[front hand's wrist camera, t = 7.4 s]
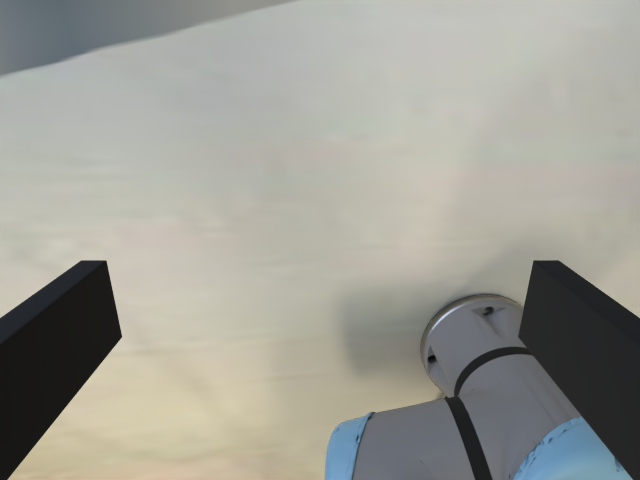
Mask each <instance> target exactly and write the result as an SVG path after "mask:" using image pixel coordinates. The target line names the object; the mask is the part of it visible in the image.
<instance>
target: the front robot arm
mask: <svg viewBox="0 0 640 480" xmlns="http://www.w3.org/2000/svg"><path fill="white" fill-rule="evenodd" d="M121 338H122V334H121V329H120V325H119V320H118V315H117V310H116V305H115V300H114V295H113V291H112V286H111V281H110V276H109V271H108V266H107V261H80V262H79V263H77V264H76V265H74V266H73V267H72V268H70V269H69V270H67V271H66V272H65V273H63V274H62V275H60V276H59V277H58V278H56V279H55V280H53V281H52V282H51V283H49V284H48V285H46V286H45V287H44V288H42V289H41V290H39V291H38V292H37V293H35V294H34V295H32V296H31V297H29V298H28V299H27V300H25V301H24V302H22V303H21V304H20V305H18V306H17V307H15V308H14V309H13V310H11V311H10V312H8V313H7V314H6V315H4V316H3V317H1V318H0V480H7V479H8V478H9V477H10V476H11V474H12V473H13V472H14V471H15V469H16V468H17V467H18V466H19V464H20V463H21V462H22V461H23V459H24V458H25V457H26V456H27V454H28V453H29V452H30V451H31V449H32V448H33V447H34V446H35V445H36V443H37V442H38V441H39V440H40V438H41V437H42V436H43V435H44V433H45V432H46V431H47V430H48V428H49V427H50V426H51V425H52V423H53V422H54V421H55V420H56V418H57V417H58V416H59V415H60V413H61V412H62V411H63V410H64V408H65V407H66V406H67V405H68V403H69V402H70V401H71V400H72V399H73V397H74V396H75V395H76V394H77V392H78V391H79V390H80V389H81V387H82V386H83V385H84V384H85V382H86V381H87V380H88V379H89V377H90V376H91V375H92V374H93V372H94V371H95V370H96V369H97V367H98V366H99V365H100V364H101V362H102V361H103V360H104V359H105V357H106V356H107V355H108V354H109V353H110V351H111V350H112V349H113V348H114V346H115V345H116V344H117V343H118V341H119V340H120V339H121ZM421 357H422V361H423V364H424V366H425V369H426V372H427V374H428V376H429V377H430V379H431V380H432V382H433V383H434V384H435V385H436V386H437V387H438V388H439V389H440V390H441V391H442V392H443V393H444V394H445V395H446V397H445V398H444V399H439V400H435V401H430V402H426V403H421V404H417V405H412V406H408V407H403V408H398V409H393V410H388V411H383V412H378V413H376V412H370V413H368V414H367V415H366V416H363V417H360V418H356V419H352V420H348V421H345V422H342V423H341V424H339V425H338V426H337V427H336V428H335V429H334V431H333V433H332V435H331V438H330V440H329V443H328V448H327V455H326V466H325V480H640V318H639V317H637V316H636V315H634V314H633V313H632V312H630V311H629V310H627V309H626V308H625V307H623V306H622V305H620V304H619V303H618V302H616V301H615V300H613V299H612V298H611V297H609V296H608V295H606V294H605V293H603V292H602V291H601V290H599V289H598V288H596V287H595V286H594V285H592V284H591V283H589V282H588V281H587V280H585V279H584V278H582V277H581V276H580V275H578V274H577V273H575V272H574V271H573V270H571V269H570V268H568V267H567V266H566V265H564V264H563V263H561V262H560V261H533V266H532V271H531V276H530V281H529V286H528V291H527V295H526V300H525V305H524V308H523V307H521V306H520V305H519V304H517V303H516V302H514V301H512V300H510V299H508V298H505V297H501V296H497V295H475V296H470V297H466V298H463V299H460V300H458V301H455V302H453V303H451V304H450V305H448V306H446V307H445V308H444V309H442V310H441V311H440V312H439V313H438V314H437V315H436V316H435V317H434V318H433V319H432V320H431V321H430V323H429V324H428V326H427V328H426V329H425V332H424V334H423V337H422V341H421Z"/></svg>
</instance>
